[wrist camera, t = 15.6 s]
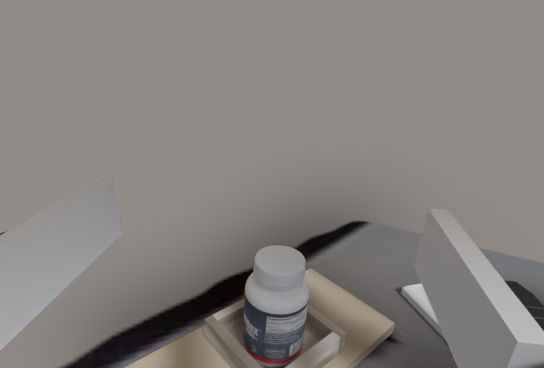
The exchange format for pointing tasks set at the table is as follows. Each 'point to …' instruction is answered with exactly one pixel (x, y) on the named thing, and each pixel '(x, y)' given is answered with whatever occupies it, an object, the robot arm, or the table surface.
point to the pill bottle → (275, 306)
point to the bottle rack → (316, 344)
